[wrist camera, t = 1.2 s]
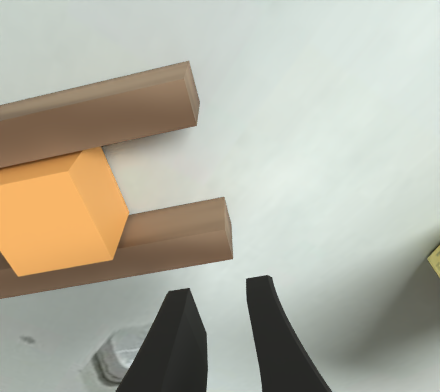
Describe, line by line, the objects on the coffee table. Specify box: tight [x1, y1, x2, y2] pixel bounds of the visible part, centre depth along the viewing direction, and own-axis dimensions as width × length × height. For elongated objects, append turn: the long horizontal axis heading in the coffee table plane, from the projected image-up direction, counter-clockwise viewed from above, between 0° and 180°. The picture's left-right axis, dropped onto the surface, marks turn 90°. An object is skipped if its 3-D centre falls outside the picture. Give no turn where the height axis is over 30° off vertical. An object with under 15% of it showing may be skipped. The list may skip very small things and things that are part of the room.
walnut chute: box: [0, 61, 233, 299], centre depth 20 cm, size 10×22×3 cm, turn 103°
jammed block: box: [0, 146, 129, 277], centre depth 19 cm, size 5×5×4 cm
